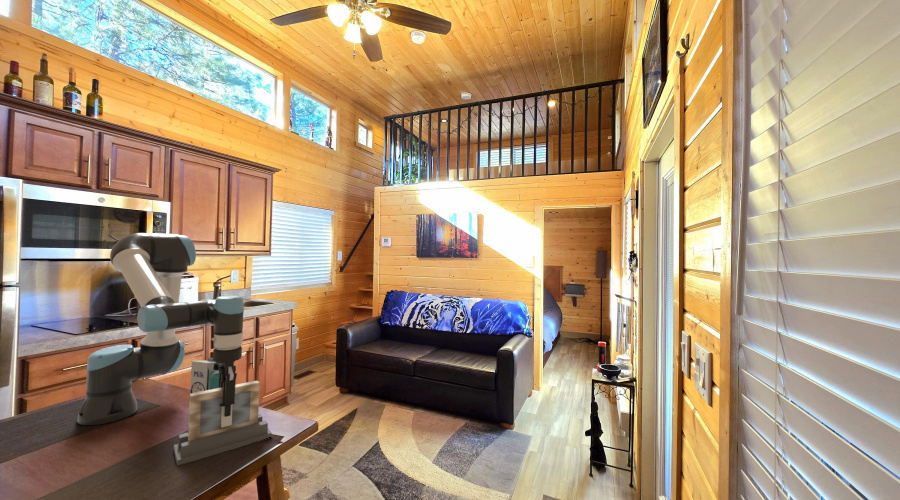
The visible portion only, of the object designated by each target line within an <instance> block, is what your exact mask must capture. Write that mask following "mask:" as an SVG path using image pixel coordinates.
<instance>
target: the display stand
mask: <svg viewBox="0 0 900 500" xmlns="http://www.w3.org/2000/svg"><path fill="white" fill-rule="evenodd" d="M269 437H272V431H271V430H270V428H269V423H268V422H267V420H263V415H262V414H261V413H260V414H259V413H258V423H255V424H251V425H247V426H244V427H240V428H236V429H233V430H229V431H225V432H221V433H218V434H214V435H210V436H206V437H203V438H199V439H195V440H191V441H188V432H184V433H180V434H178V439H177V440H178V442H177V444H173V454H174V458H175V461H176V462H175V463H176V467H177V466H181V465H185V464H188V463H191V462H194V461H198V460H202V459H204V458H208V457H211V456H212V457H213V456H215V455H218V454H222V453H224V452H228V451H231V450H236V449H238V448H241V447H244V446H248V445H252V444H254V443H253V442H255V443H257V442H256V441H258V442H260V441H259V440H262V439H265V438H268V439H270V438H269ZM265 440H266V439H265ZM262 441H263V440H262ZM251 443H252V444H251Z"/></svg>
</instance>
